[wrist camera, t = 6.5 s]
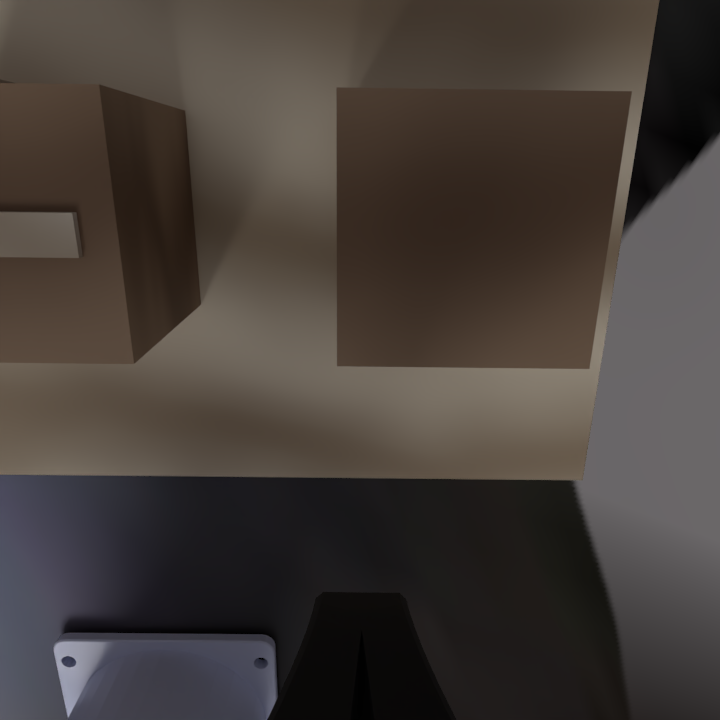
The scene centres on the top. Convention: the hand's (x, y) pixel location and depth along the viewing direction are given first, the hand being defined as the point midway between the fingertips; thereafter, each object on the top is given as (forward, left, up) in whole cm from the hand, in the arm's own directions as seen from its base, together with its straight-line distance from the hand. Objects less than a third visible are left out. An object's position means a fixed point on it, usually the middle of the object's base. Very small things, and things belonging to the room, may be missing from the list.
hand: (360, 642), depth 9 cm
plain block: (+6, -2, -8) cm, 11 cm away
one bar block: (+6, +7, -8) cm, 12 cm away
